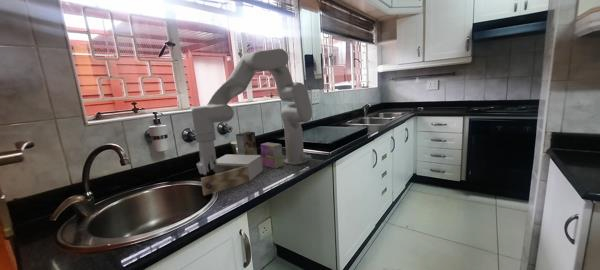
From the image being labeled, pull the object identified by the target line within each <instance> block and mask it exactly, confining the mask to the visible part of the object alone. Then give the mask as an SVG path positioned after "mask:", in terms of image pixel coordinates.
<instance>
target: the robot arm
mask: <svg viewBox="0 0 600 270" xmlns="http://www.w3.org/2000/svg"><path fill="white" fill-rule="evenodd" d="M288 63H289V55H288V52H287V51H286V50H284V49H283V48H273V49H266V50H257V51H252V52H247V53H245V54H242V56H241V57H240V58H239V60H238V62H237V63H236V65H235V67H234V69H233V71H232V72H231V73H230V75H229V77H228V78H227V80H226V81H225V82H223V83H222V84H221V85H220V87H219V88H217V90H216V91H215V92H214V93H213V95H212V96H211V98H210V99H209V101H208V103H207V104H206V105H200V106H194V107H193V108H192V109H191V115H192V123H193V129H194V135H195V136H194V137H195V143H198V152H199V153H198V154H199V159H200V160H199V162H201V164H202V165H203V166H204V167H206V174H207V175H206V177H207V176H211V175H214V174H215V169H214V165H216V164H217V161H216V159H217V155H216V154H217V153H216V148H215V142H214V141H216V140H217V137H216V129H215V124H216V123H227V122H230V121H231V120H232V119H233V117H234V114H235V111H234V109H233V107H232V106H230V105H229V103H230V101H231V100H233V99H234V98H235V97H237V96H239V95H241V94H242V93H244V92H245V91H246V90H247V89H248V87H249V85H250V83H251V81H253V78H254V76H255V74H256V73H259V72H260V73H261V72H266V71H267V72H268V73H270V74H271V76H272V77H273V80H274V82H275V86H276V91H277V93H278V97H279V99H280V100H281V101H282V102H284V103H285V102H286V104H284V105H283V106H282V108H281V111H280V113H281V115H280V117H281V120H282V124H283V129H284V141H285V142H284V143H285V154H286V156H285V159H283V164H285V165H289V166H296V165H302V164H304V163H306V162H307V161H308V160H312V155H311V154H306V152H305V151H304V139H303V127H302V124H301V123H309V122H310V121H311V119H312V118H313V108H312V104H311V99H310V96H309V95H310V94H309V92H308V88H307V86H306V85H305V84H303V83H302V82H294V81H293V77H292V74H291V72H290V70H289V67H288V66H287V65H288Z"/></svg>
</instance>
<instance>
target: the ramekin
mask: <svg viewBox="0 0 600 270" xmlns="http://www.w3.org/2000/svg"><path fill="white" fill-rule="evenodd" d="M196 167H197V169H198V173H199V174H200V175H202V174H203V175H204V176H207V174H206V167H204V166H203V165H202V164H201V162H200V161H199V162H197V163H196Z"/></svg>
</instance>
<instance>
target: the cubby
mask: <svg viewBox="0 0 600 270" xmlns="http://www.w3.org/2000/svg"><path fill="white" fill-rule="evenodd" d="M216 161H217V164H216V165H214V169H215V174H218V173H222V172H225V171H229V170H233V169H236V168H240V167H244V166H248V173H249V182H250V181H252V180H253V179H255V178H256V177H257V176H258V175H259V174H261V173H262V172H263V171H264V169H263V167H264V165H263V161H262V154H257V155H238V154H229V153H228V154H227V153H226V154H224V155H223V156H220V157H219V158H216Z"/></svg>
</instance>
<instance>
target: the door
mask: <svg viewBox="0 0 600 270" xmlns="http://www.w3.org/2000/svg"><path fill="white" fill-rule="evenodd" d="M249 182H250V181H249V173H248V166H244V167H240V168H236V169H233V170H229V171H225V172H222V173H218V174H214V175H211V176H207V175H206V176H204V177H200V183H201V187H202V188H201V189H202V194H203V196H207V195H211V194H214V193H218V192H220V191H223V190H226V189H229V188H232V187H235V186H239V185H242V184H246V183H249Z"/></svg>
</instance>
